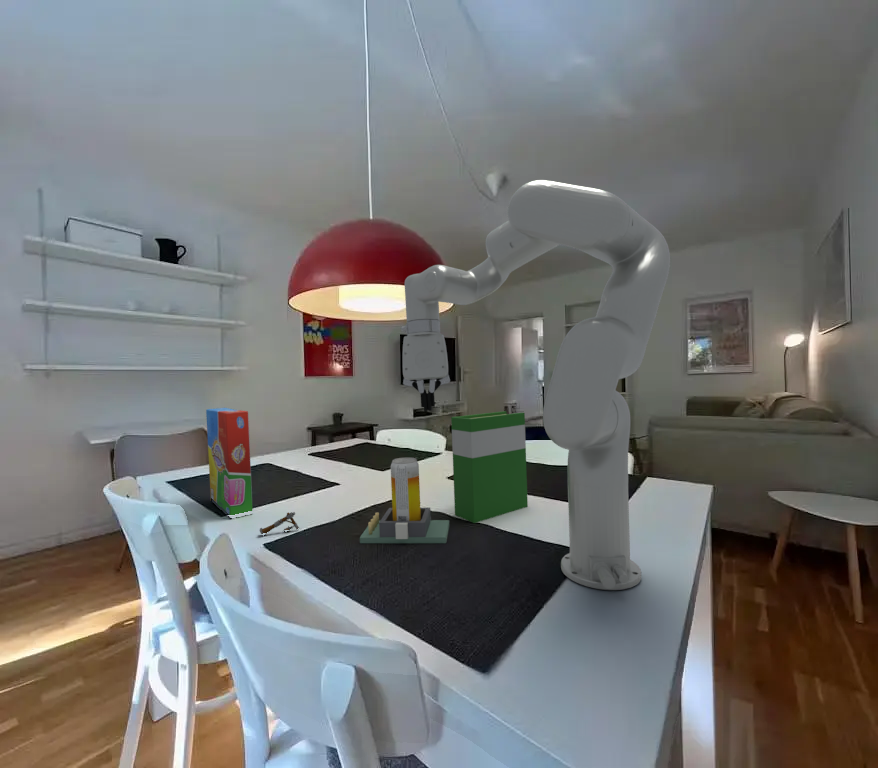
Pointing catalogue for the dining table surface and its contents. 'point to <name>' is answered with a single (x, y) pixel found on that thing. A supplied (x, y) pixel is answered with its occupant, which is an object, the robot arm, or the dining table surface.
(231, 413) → the game box
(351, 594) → the dining table surface
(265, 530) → the wooden post with brackets
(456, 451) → the green cereal box
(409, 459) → the beer can
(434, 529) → the header board
